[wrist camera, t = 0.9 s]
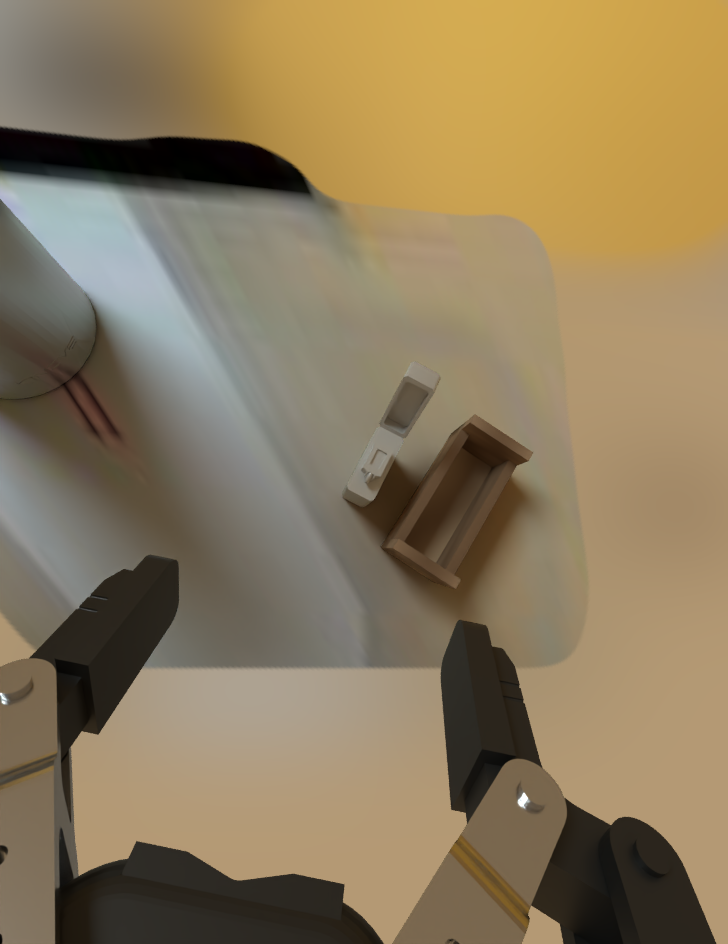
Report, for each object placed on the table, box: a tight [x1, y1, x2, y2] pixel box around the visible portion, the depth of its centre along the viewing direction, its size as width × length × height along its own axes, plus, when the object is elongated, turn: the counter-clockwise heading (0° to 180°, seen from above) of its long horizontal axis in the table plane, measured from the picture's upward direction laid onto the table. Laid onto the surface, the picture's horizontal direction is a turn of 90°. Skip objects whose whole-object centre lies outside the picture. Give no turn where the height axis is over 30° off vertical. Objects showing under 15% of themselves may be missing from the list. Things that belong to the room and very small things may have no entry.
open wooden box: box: [381, 415, 533, 589], centre depth 27 cm, size 4×9×4 cm, turn 147°
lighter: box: [342, 361, 440, 507], centre depth 25 cm, size 7×2×8 cm, turn 153°
